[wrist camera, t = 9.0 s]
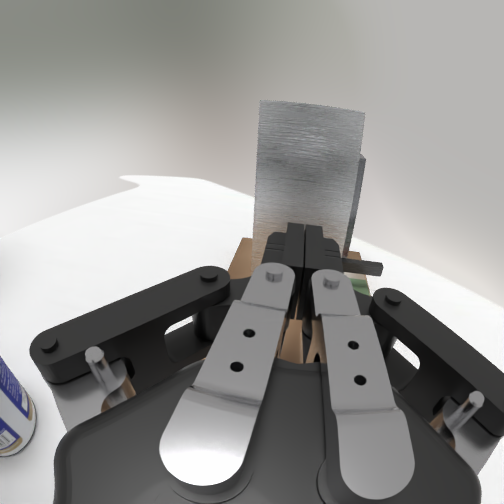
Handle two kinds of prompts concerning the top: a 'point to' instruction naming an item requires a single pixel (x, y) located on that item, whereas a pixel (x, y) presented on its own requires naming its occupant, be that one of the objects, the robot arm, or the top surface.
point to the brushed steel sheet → (307, 173)
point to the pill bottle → (14, 413)
